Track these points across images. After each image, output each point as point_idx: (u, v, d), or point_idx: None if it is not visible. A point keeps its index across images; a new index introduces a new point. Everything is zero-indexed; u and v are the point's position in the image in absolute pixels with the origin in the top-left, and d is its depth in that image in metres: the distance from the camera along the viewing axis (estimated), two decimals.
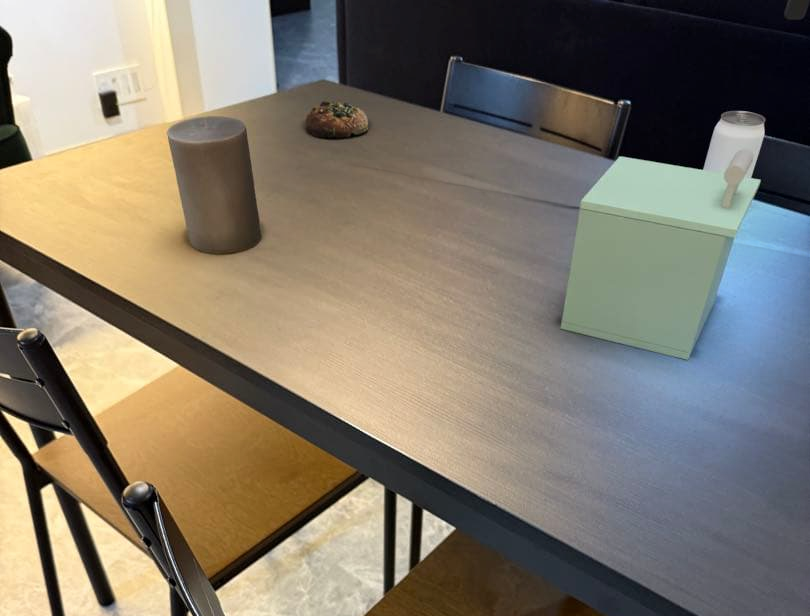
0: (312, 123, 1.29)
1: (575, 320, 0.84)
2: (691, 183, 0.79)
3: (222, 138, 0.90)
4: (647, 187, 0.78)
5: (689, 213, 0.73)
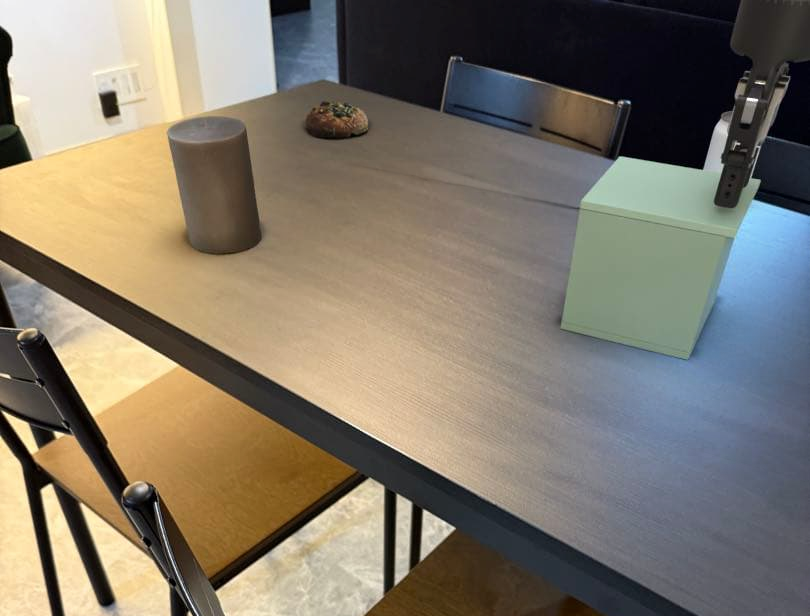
0: (312, 123, 1.29)
1: (575, 320, 0.84)
2: (691, 183, 0.79)
3: (222, 138, 0.90)
4: (647, 187, 0.78)
5: (689, 213, 0.73)
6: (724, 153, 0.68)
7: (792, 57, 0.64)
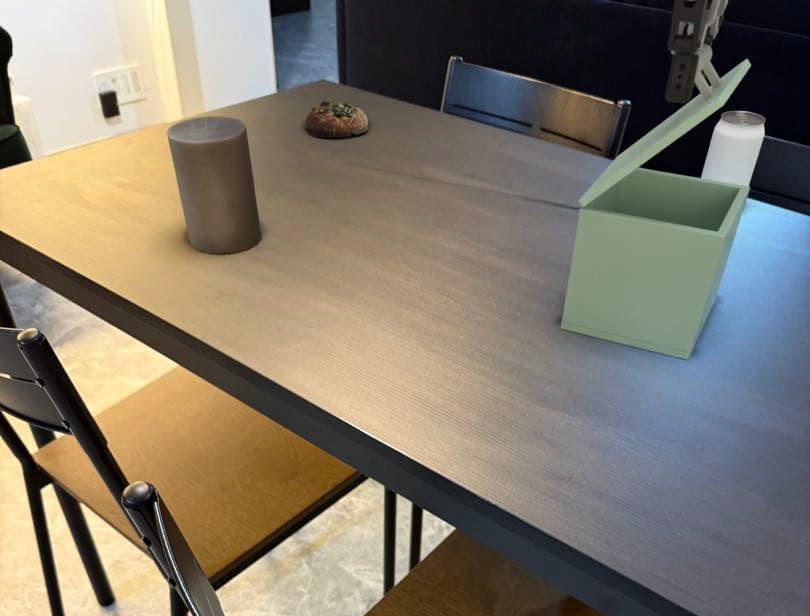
0: (312, 123, 1.29)
1: (575, 320, 0.84)
2: (679, 114, 0.75)
3: (222, 138, 0.90)
4: (637, 149, 0.76)
5: (674, 127, 0.69)
6: (670, 38, 0.65)
7: None
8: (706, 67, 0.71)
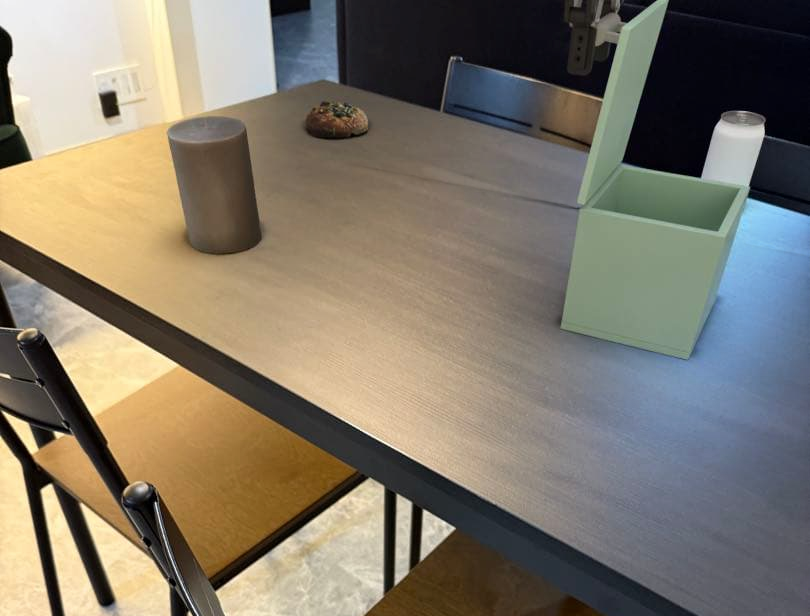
0: (312, 123, 1.29)
1: (575, 320, 0.84)
2: None
3: (222, 138, 0.90)
4: None
5: None
6: (565, 9, 0.67)
7: None
8: (620, 27, 0.72)
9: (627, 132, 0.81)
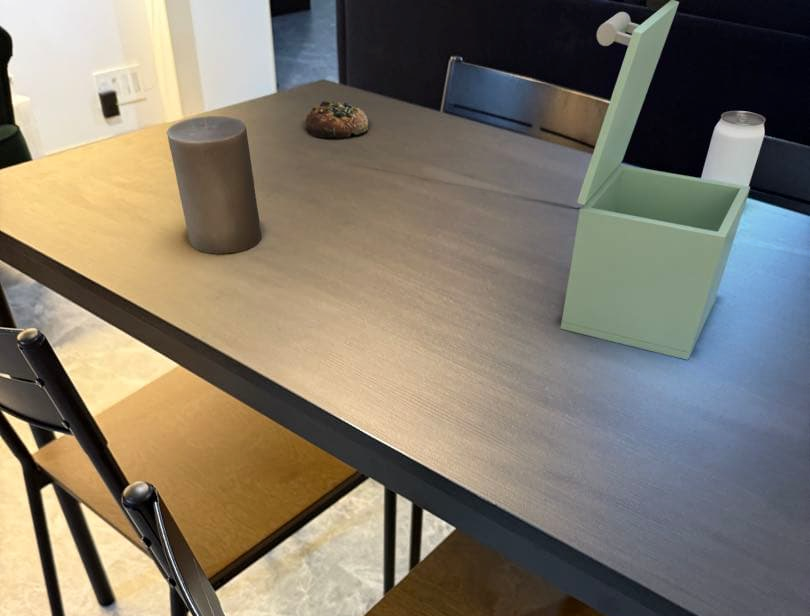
0: (312, 123, 1.29)
1: (575, 320, 0.84)
2: None
3: (222, 138, 0.90)
4: None
5: None
6: None
7: None
8: (629, 28, 0.72)
9: (629, 133, 0.81)
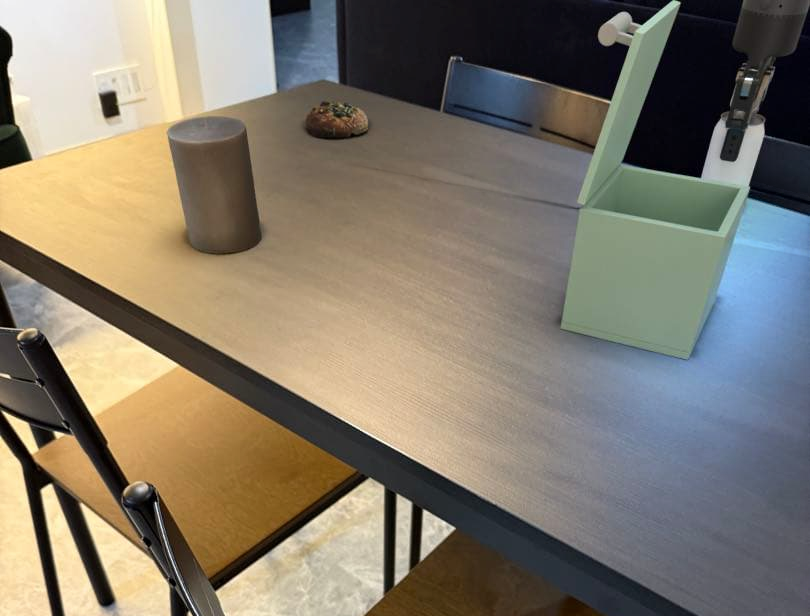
0: (312, 123, 1.29)
1: (575, 320, 0.84)
2: None
3: (222, 138, 0.90)
4: None
5: None
6: (728, 119, 0.96)
7: (775, 53, 0.92)
8: (631, 28, 0.72)
9: (629, 133, 0.81)
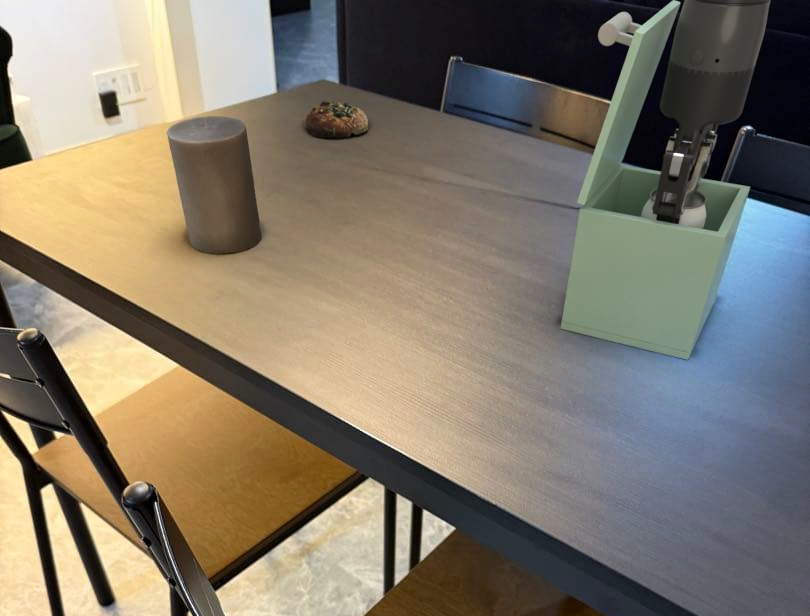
0: (312, 123, 1.29)
1: (575, 320, 0.84)
2: None
3: (222, 138, 0.90)
4: None
5: None
6: (655, 204, 0.73)
7: (714, 121, 0.69)
8: (631, 28, 0.72)
9: (629, 133, 0.81)
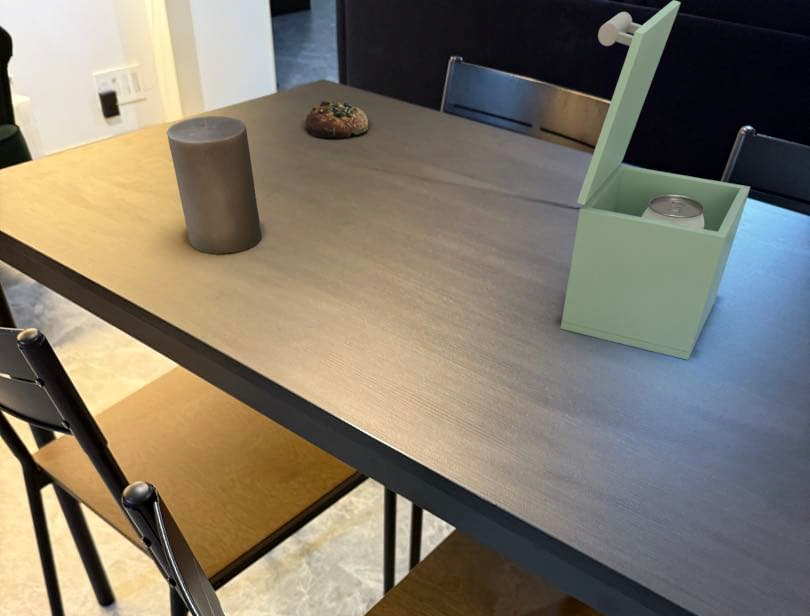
0: (312, 123, 1.29)
1: (575, 320, 0.84)
2: None
3: (222, 138, 0.90)
4: None
5: None
6: None
7: None
8: (631, 28, 0.72)
9: (629, 133, 0.81)
